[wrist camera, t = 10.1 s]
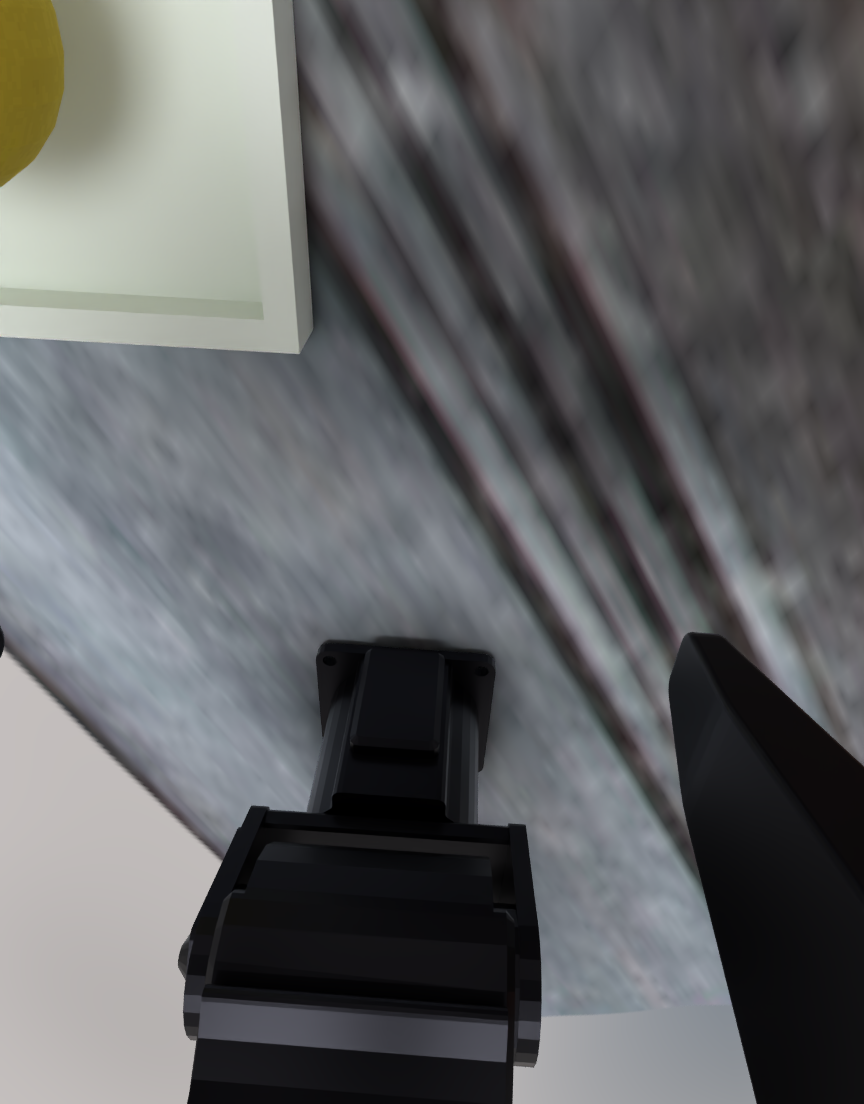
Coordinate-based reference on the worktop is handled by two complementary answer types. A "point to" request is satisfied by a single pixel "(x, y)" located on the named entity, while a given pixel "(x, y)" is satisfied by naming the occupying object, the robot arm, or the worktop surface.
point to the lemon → (28, 81)
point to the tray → (165, 184)
